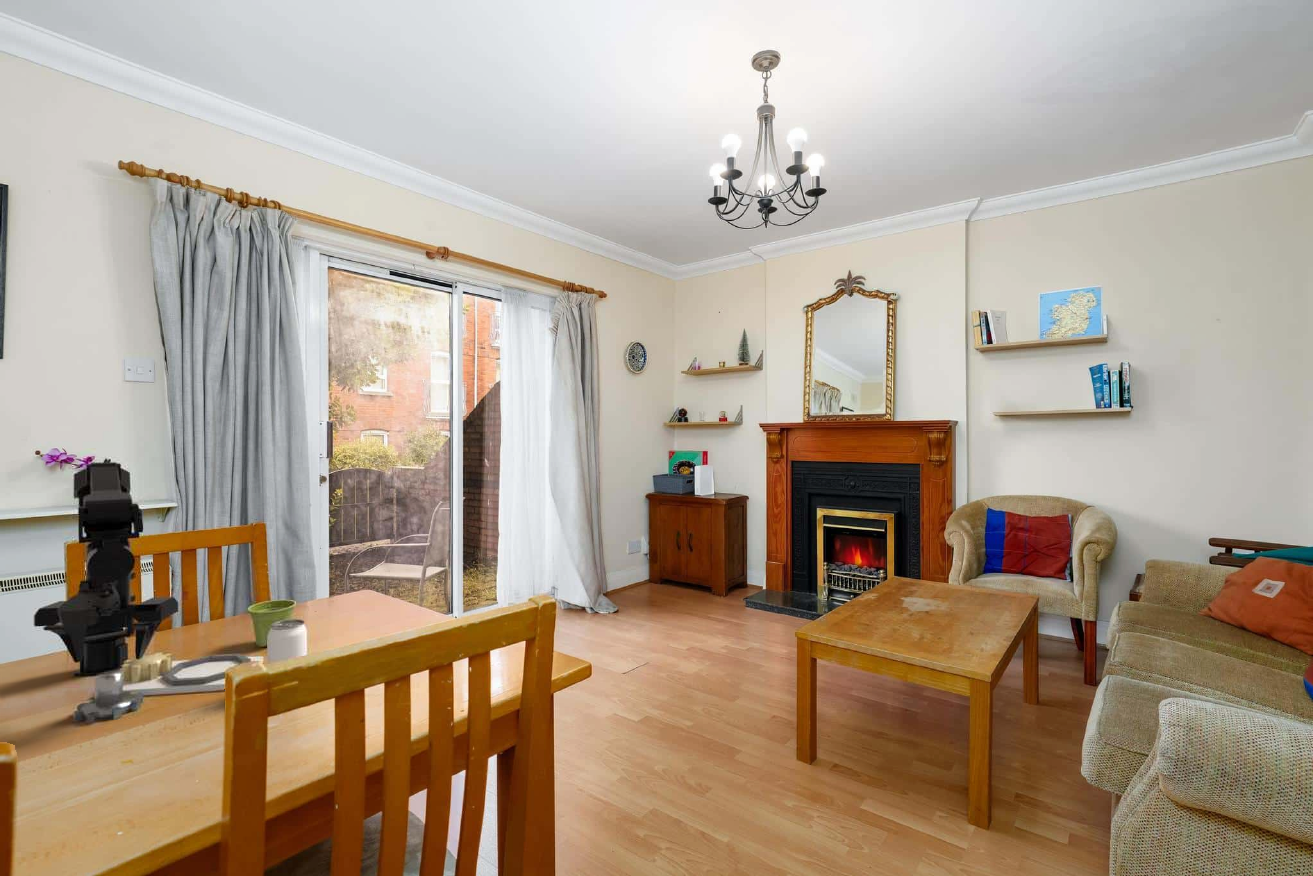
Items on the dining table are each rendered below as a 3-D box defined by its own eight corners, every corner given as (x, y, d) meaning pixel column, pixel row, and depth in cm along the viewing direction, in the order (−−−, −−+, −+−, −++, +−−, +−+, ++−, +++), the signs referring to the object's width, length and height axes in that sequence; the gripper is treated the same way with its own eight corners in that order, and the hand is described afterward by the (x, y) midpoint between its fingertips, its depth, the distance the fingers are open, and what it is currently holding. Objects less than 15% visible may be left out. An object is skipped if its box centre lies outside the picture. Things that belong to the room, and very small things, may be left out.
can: (288, 695, 112) (288, 630, 112) (258, 691, 113) (258, 628, 113) (314, 681, 118) (314, 619, 118) (286, 678, 120) (286, 617, 120)
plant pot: (304, 641, 141) (304, 603, 140) (260, 653, 133) (260, 614, 132) (283, 633, 146) (283, 597, 145) (239, 645, 138) (239, 607, 137)
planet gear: (58, 725, 100) (58, 686, 100) (98, 701, 109) (98, 665, 109) (121, 721, 102) (121, 683, 102) (155, 697, 110) (154, 662, 110)
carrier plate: (94, 698, 110) (94, 675, 110) (144, 668, 124) (144, 648, 124) (229, 690, 114) (229, 667, 114) (263, 661, 128) (263, 642, 128)
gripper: (4, 584, 95) (5, 683, 96) (139, 580, 99) (140, 675, 99) (59, 568, 106) (60, 656, 107) (179, 565, 110) (180, 650, 110)
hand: (109, 660), depth 105 cm, fingers open, 9 cm apart
